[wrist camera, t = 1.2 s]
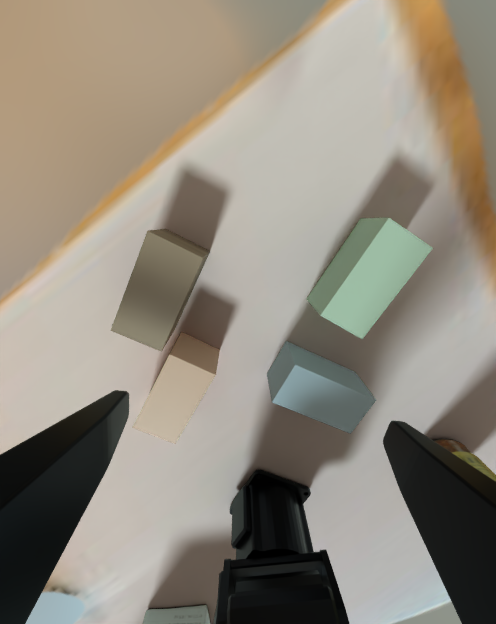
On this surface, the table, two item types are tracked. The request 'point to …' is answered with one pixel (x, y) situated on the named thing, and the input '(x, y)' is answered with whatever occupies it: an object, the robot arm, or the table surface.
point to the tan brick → (178, 388)
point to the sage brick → (367, 274)
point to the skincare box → (178, 615)
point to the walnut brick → (159, 288)
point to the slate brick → (318, 388)
